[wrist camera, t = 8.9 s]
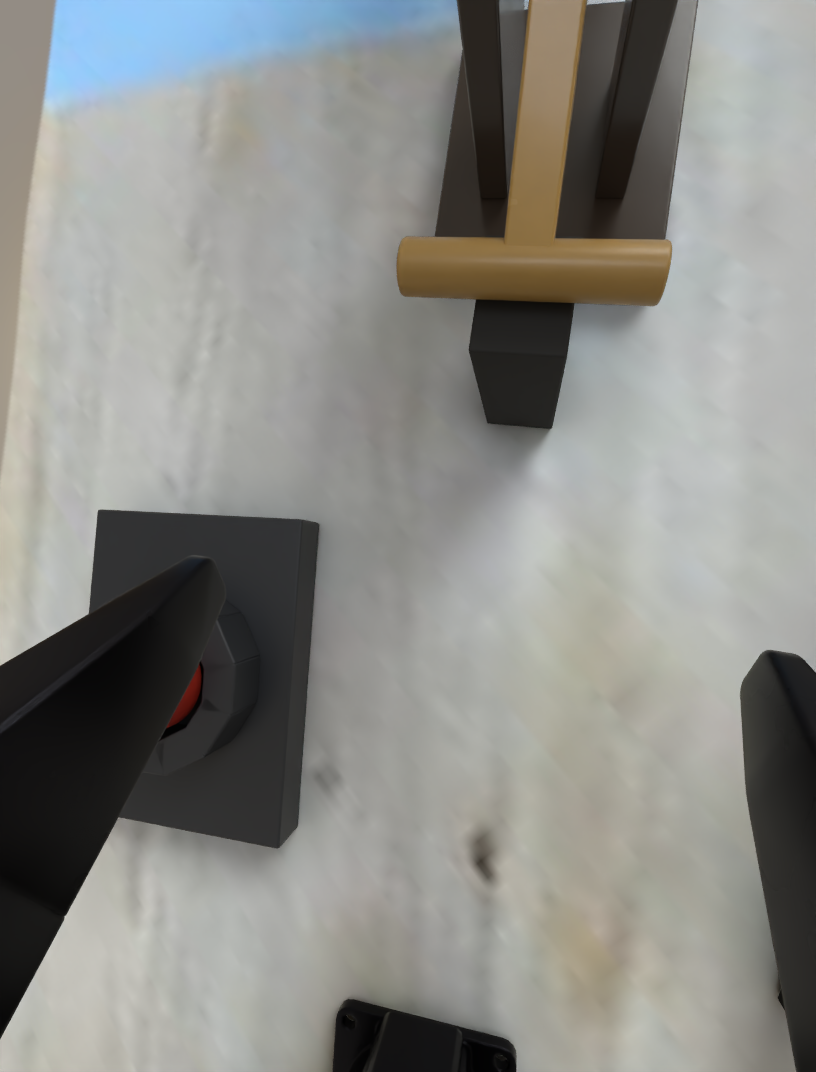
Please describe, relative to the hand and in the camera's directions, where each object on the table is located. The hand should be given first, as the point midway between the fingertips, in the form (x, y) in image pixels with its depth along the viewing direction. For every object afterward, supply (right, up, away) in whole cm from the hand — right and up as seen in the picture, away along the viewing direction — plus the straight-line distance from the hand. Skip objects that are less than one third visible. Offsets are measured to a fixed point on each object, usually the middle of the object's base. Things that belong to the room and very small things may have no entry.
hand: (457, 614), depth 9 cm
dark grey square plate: (-9, -4, +13) cm, 17 cm away
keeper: (+3, +7, +11) cm, 13 cm away
